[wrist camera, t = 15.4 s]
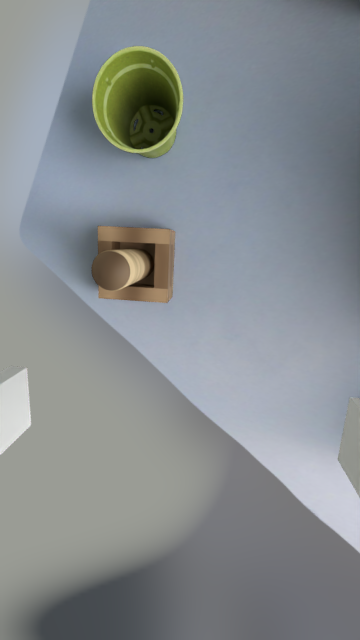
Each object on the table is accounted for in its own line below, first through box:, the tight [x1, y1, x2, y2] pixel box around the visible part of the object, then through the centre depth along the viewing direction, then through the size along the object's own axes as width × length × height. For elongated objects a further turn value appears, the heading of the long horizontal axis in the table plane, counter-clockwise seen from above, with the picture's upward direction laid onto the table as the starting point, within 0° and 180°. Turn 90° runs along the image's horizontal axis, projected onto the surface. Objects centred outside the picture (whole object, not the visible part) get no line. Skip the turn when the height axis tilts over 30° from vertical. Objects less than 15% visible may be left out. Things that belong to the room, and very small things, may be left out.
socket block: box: [98, 226, 175, 303], centre depth 41 cm, size 9×9×5 cm
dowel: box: [92, 249, 154, 291], centre depth 36 cm, size 4×4×12 cm
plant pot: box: [92, 46, 183, 158], centre depth 35 cm, size 9×9×9 cm
